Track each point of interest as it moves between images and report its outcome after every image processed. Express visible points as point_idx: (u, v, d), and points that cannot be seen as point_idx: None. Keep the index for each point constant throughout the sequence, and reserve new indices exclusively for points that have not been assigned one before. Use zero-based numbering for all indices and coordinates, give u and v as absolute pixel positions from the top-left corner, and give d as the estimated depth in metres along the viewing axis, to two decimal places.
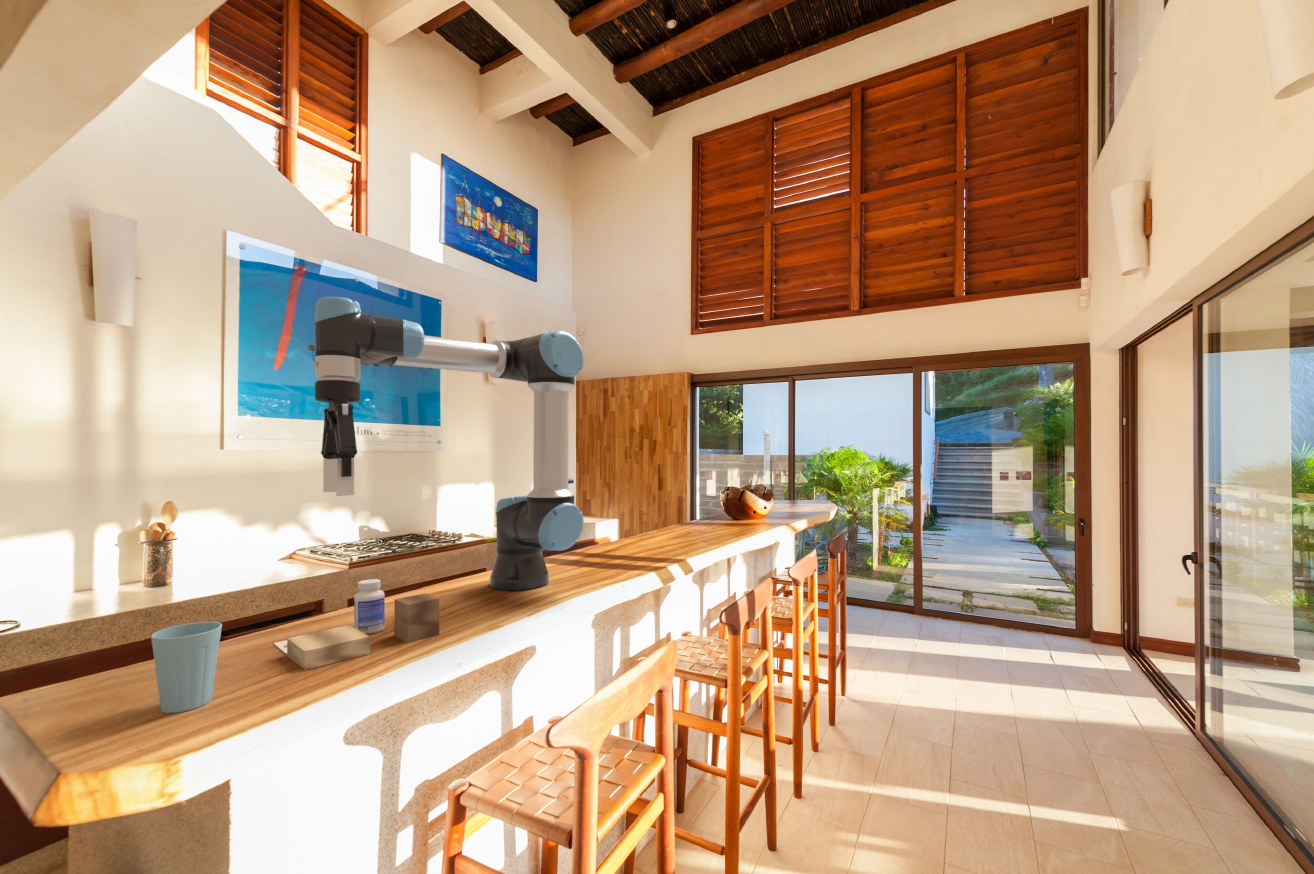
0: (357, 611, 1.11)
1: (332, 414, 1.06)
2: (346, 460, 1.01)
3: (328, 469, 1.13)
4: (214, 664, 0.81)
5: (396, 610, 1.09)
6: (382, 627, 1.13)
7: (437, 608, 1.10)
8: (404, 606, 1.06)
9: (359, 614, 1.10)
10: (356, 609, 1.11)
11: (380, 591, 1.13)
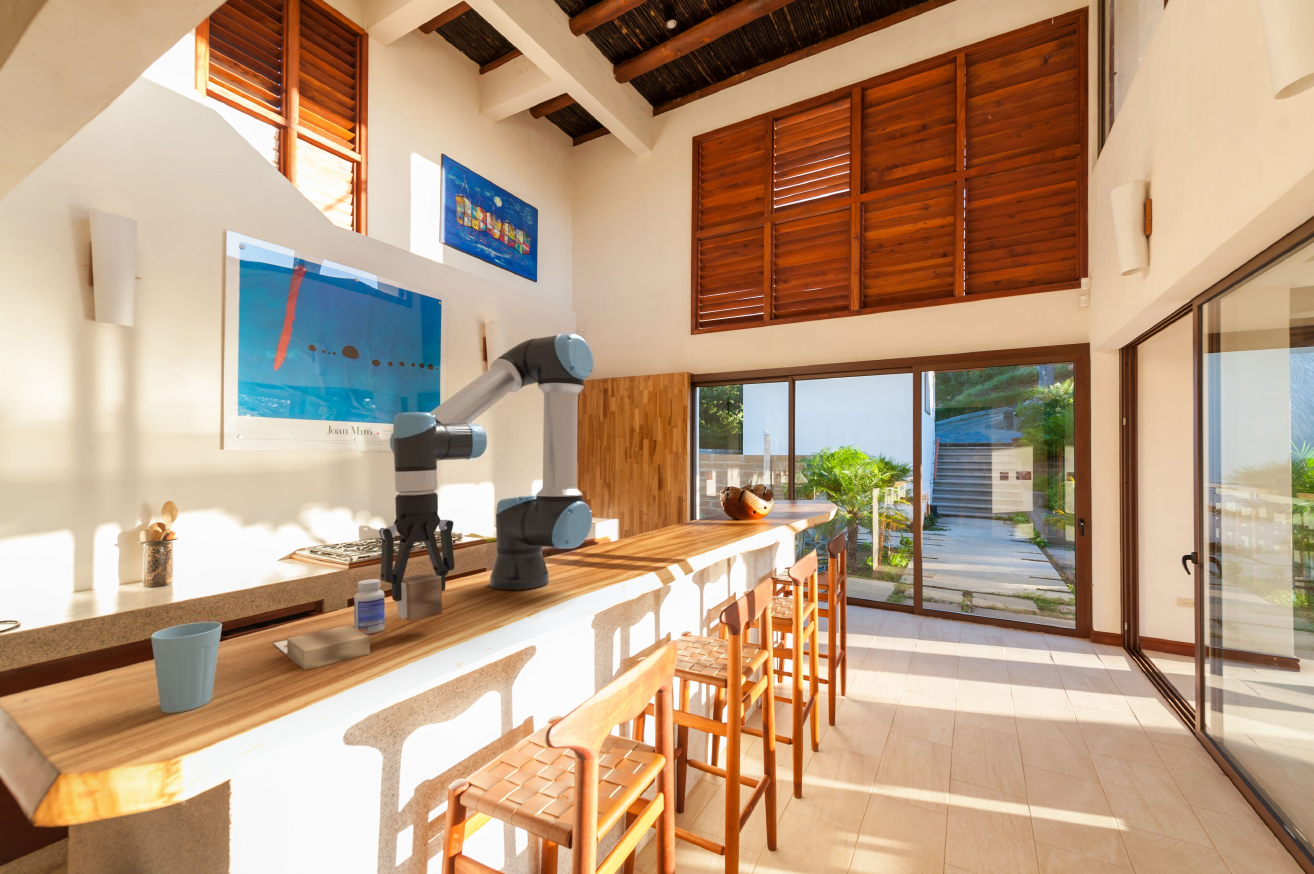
0: (357, 611, 1.11)
1: None
2: (392, 585, 1.07)
3: None
4: (214, 664, 0.81)
5: None
6: (382, 627, 1.13)
7: (439, 587, 1.10)
8: (406, 585, 1.07)
9: (359, 614, 1.10)
10: (356, 609, 1.11)
11: (380, 591, 1.13)
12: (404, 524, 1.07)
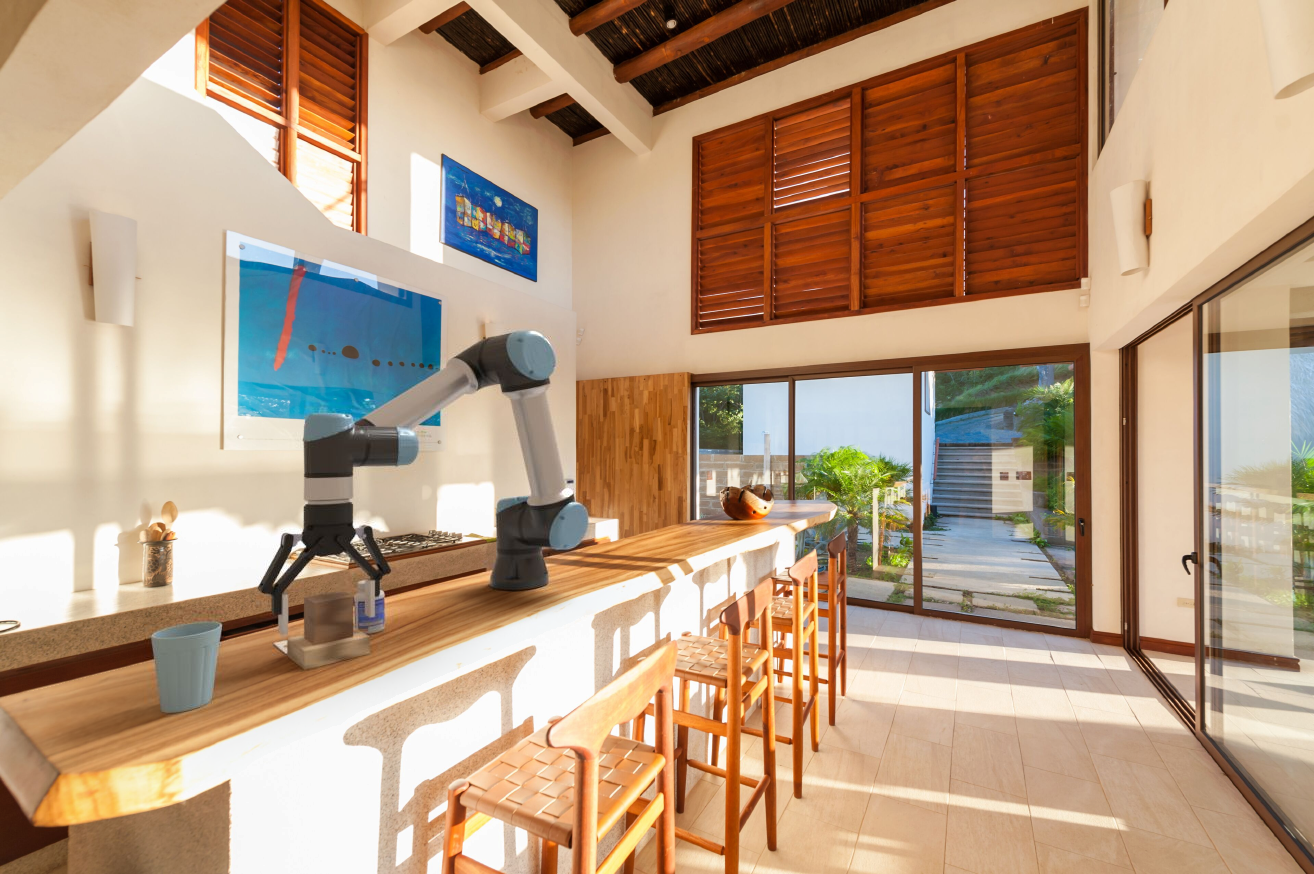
0: (357, 611, 1.11)
1: None
2: (272, 597, 0.94)
3: (366, 591, 1.05)
4: (214, 664, 0.81)
5: (305, 609, 0.99)
6: (382, 627, 1.13)
7: (351, 607, 0.99)
8: (312, 605, 0.96)
9: (359, 614, 1.10)
10: (356, 609, 1.11)
11: (380, 591, 1.13)
12: (311, 537, 0.97)
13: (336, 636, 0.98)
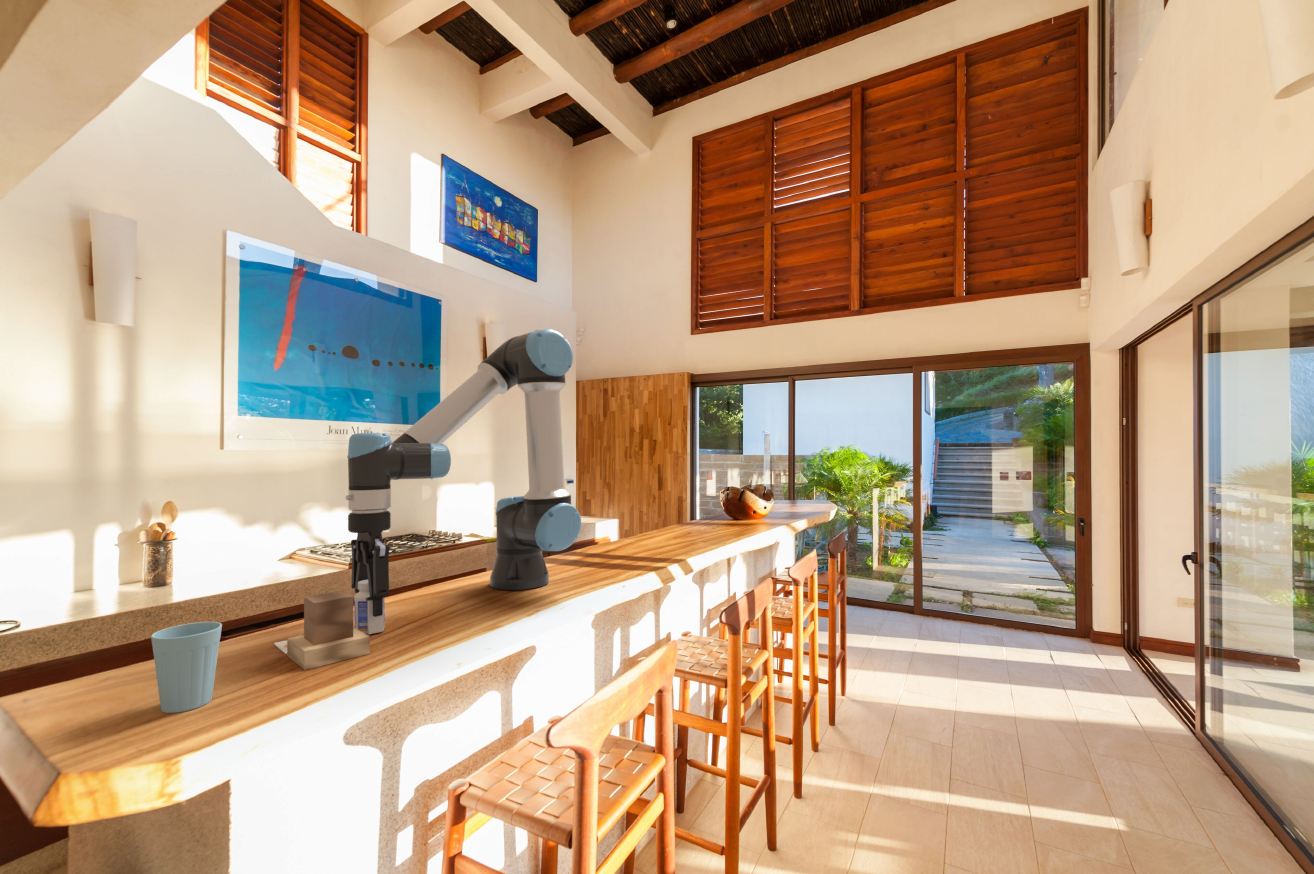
0: (357, 611, 1.11)
1: (366, 547, 1.11)
2: (378, 601, 1.10)
3: None
4: (214, 664, 0.81)
5: (305, 609, 0.99)
6: None
7: (351, 607, 0.99)
8: (312, 605, 0.96)
9: (359, 614, 1.10)
10: (356, 608, 1.11)
11: None
12: None
13: (336, 636, 0.98)
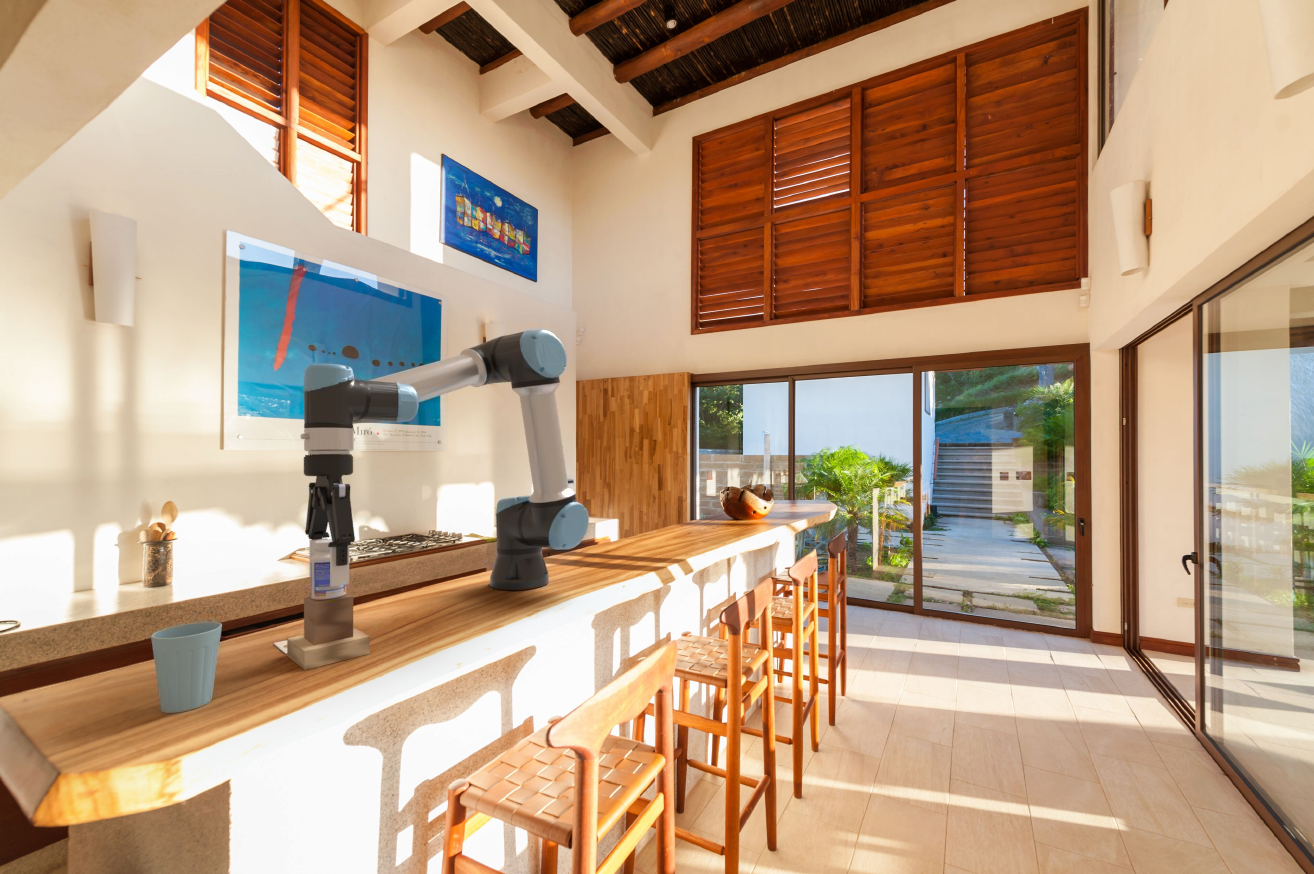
0: (313, 573, 0.97)
1: (324, 491, 0.98)
2: (342, 548, 0.95)
3: (316, 551, 1.03)
4: (214, 664, 0.81)
5: (305, 608, 0.99)
6: (342, 592, 0.99)
7: (351, 607, 1.00)
8: (312, 604, 0.96)
9: (315, 577, 0.97)
10: (312, 571, 0.98)
11: None
12: None
13: (336, 636, 0.98)
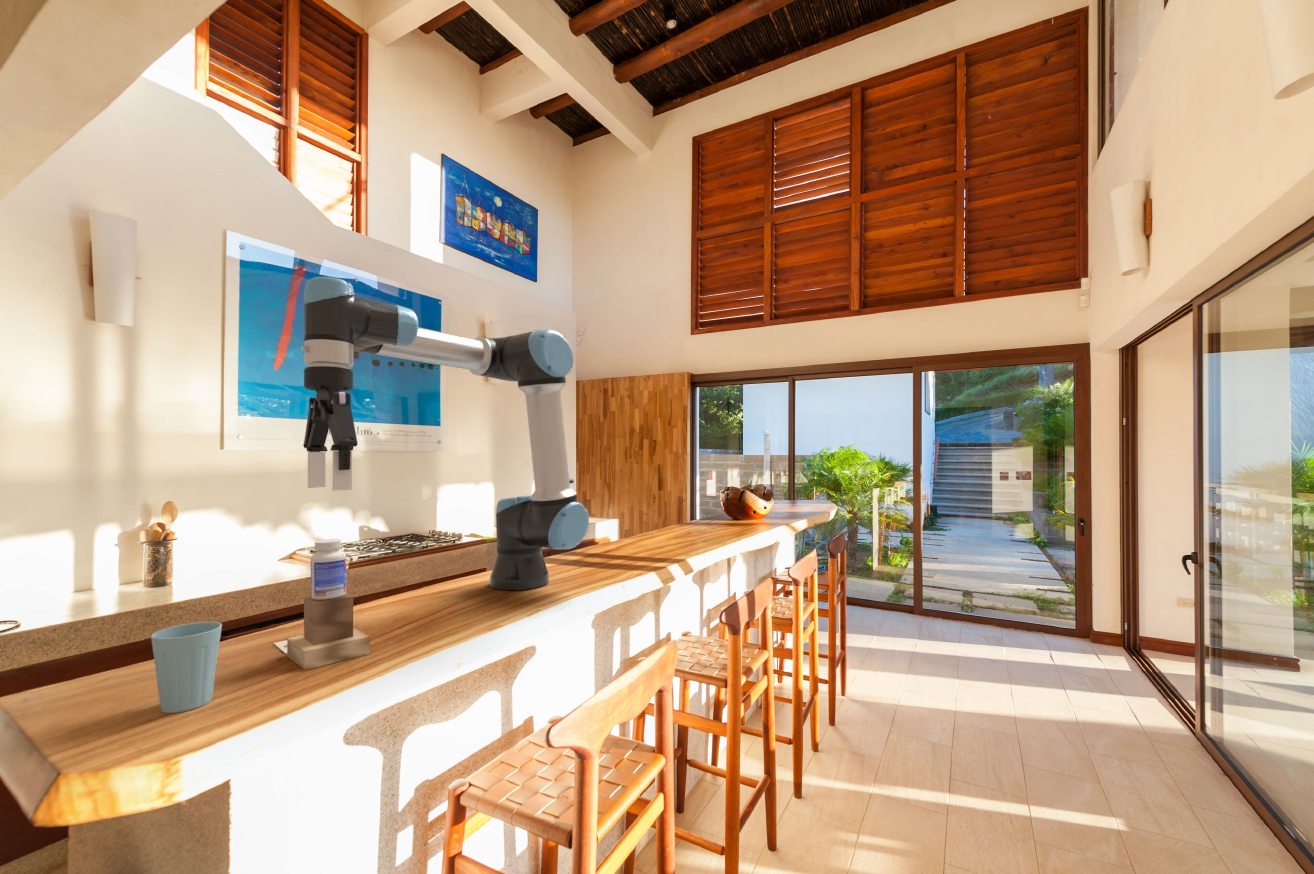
0: (313, 573, 0.97)
1: (324, 403, 0.98)
2: (345, 452, 0.95)
3: (314, 463, 1.04)
4: (214, 664, 0.81)
5: (305, 608, 0.99)
6: (342, 592, 0.99)
7: (351, 607, 1.00)
8: (312, 604, 0.96)
9: (315, 577, 0.97)
10: (312, 571, 0.98)
11: (340, 552, 1.00)
12: None
13: (336, 636, 0.98)
